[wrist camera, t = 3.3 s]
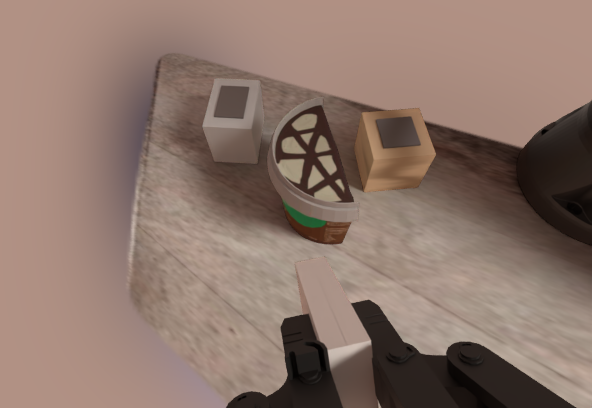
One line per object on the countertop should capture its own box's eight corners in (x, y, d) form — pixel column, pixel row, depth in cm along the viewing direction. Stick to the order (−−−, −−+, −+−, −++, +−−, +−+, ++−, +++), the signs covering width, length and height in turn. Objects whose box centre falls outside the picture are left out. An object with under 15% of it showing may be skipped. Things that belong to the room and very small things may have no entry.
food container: (264, 167, 40) (254, 102, 32) (317, 158, 41) (322, 91, 32) (284, 269, 34) (279, 224, 26) (346, 256, 35) (361, 208, 26)
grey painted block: (264, 118, 44) (259, 78, 39) (257, 164, 41) (251, 127, 35) (225, 116, 44) (214, 76, 39) (214, 161, 41) (201, 125, 35)
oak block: (404, 144, 42) (419, 106, 36) (417, 187, 39) (436, 153, 33) (353, 149, 42) (362, 111, 36) (363, 192, 39) (374, 158, 33)
